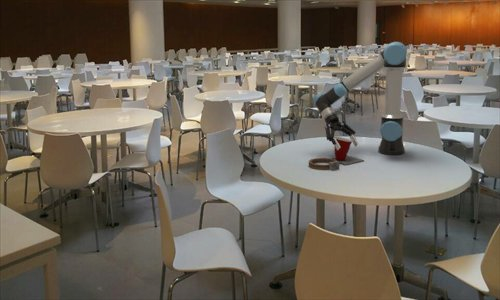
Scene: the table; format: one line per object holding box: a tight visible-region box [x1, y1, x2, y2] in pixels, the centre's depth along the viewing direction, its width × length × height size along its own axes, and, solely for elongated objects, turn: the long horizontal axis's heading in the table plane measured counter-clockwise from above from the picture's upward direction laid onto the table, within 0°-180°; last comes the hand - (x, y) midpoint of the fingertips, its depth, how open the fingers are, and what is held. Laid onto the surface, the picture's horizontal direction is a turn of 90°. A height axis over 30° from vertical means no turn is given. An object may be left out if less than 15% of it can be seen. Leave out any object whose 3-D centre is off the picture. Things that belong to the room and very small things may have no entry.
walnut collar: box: [308, 157, 340, 172], centre depth 273 cm, size 15×18×4 cm
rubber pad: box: [330, 155, 365, 166], centre depth 283 cm, size 14×14×1 cm
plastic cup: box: [334, 136, 353, 160], centre depth 282 cm, size 11×11×12 cm
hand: (348, 147), depth 280 cm, fingers open, 13 cm apart
